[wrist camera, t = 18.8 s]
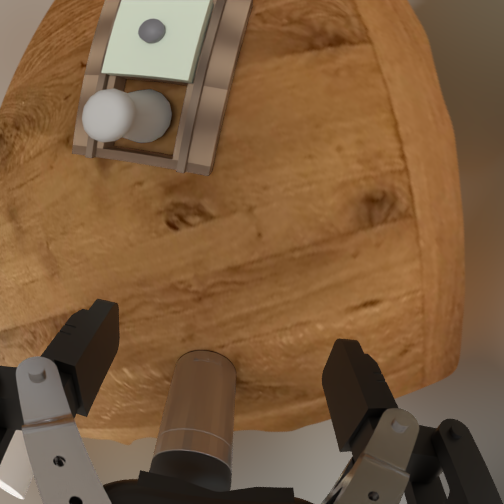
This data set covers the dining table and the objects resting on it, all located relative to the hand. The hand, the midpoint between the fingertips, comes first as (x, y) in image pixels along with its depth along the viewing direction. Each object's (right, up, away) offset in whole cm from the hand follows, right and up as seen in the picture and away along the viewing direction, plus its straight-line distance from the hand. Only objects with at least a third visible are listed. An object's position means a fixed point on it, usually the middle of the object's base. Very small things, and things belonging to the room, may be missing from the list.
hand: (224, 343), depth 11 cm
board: (-9, +23, +19) cm, 31 cm away
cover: (-8, +25, +15) cm, 30 cm away
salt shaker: (-10, +18, +21) cm, 30 cm away
